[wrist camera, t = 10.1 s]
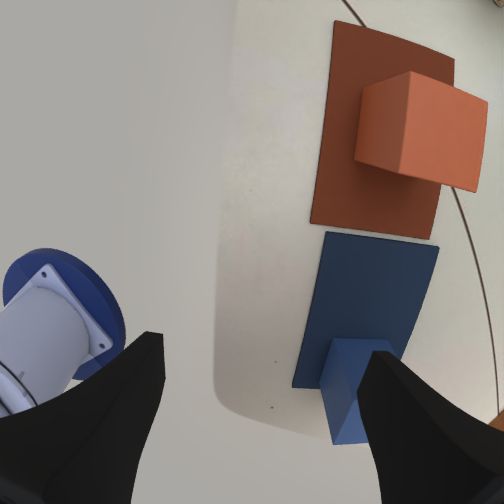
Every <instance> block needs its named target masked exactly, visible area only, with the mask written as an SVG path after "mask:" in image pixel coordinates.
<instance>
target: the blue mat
mask: <svg viewBox="0 0 504 504" xmlns="http://www.w3.org/2000/svg"><path fill="white" fill-rule="evenodd" d="M439 249H440V248H439V247H438V246H431V245H425V244H418V243H411V242H404V241H397V240H389V239H382V238H375V237H367V236H360V235H352V234H344V233H336V232H328V231H326V234H325V239H324V244H323V250H322V255H321V260H320V265H319V270H318V275H317V280H316V285H315V289H314V294H313V299H312V303H311V308H310V312H309V317H308V321H307V326H306V330H305V334H304V339H303V343H302V347H301V351H300V355H299V359H298V363H297V367H296V371H295V375H294V379H293V383H292V388H307V389H321V388H320V384H319V381H320V378H321V375H322V372H323V369H324V365H325V362H326V359H327V356H328V352H329V349H330V346H331V342H332V339H333V338H351V339H387V340H388V342H389V343H390V345H391V347H392V349H393V350H394V352H395V354H396V356H397V358H398V359H399V360H401V358H402V355H403V353H404V351H405V348H406V346H407V343H408V341H409V338H410V336H411V333H412V331H413V328H414V326H415V323H416V320H417V318H418V315H419V312H420V309H421V307H422V304H423V301H424V298H425V295H426V292H427V289H428V286H429V283H430V280H431V277H432V273H433V270H434V267H435V263H436V260H437V256H438V253H439Z"/></svg>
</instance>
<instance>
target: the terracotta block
mask: <svg viewBox="0 0 504 504" xmlns="http://www.w3.org/2000/svg"><path fill="white" fill-rule="evenodd" d="M487 111H488V102H486V101H484V100H482V99H480V98H478V97H476V96H473V95H471V94H469V93H467V92H464V91H462V90H460V89H457V88H455V87H452V86H450V85H448V84H445V83H442V82H440V81H437V80H435V79H432V78H429V77H427V76H424V75H421V74H418V73H415V72H412V71H409V72H407V73H404V74H401V75H398V76H395V77H392V78H389V79H387V80H384V81H381V82H379V83H376V84H373V85H371V86H368V87H365V88H363V91H362V100H361V109H360V118H359V126H358V134H357V141H356V148H355V155H354V160H355V161H358V162H362V163H365V164H369V165H372V166H375V167H379V168H382V169H385V170H388V171H392V172H395V173H398V174H402V175H406V176H411V177H415V178H419V179H423V180H428V181H432V182H436V183H440V184H444V185H447V186H451V187H455V188H459V189H462V190H466V191H470V192H473V193H476V192H477V187H478V181H479V176H480V170H481V164H482V157H483V150H484V142H485V133H486V123H487Z"/></svg>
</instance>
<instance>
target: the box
mask: <svg viewBox="0 0 504 504" xmlns="http://www.w3.org/2000/svg"><path fill="white" fill-rule="evenodd" d="M494 1H495V2H496V4H497V5H498V6H499V7H502V6H504V0H494Z"/></svg>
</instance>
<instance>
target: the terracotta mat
mask: <svg viewBox="0 0 504 504" xmlns="http://www.w3.org/2000/svg"><path fill="white" fill-rule="evenodd" d="M454 61H455V59H453V58H451V57H449V56H446V55H444V54H442V53H439V52H437V51H434V50H432V49H429V48H427V47H424V46H421V45H419V44H416V43H413V42H410V41H408V40H405V39H402V38H399V37H396V36H393V35H389V34H386V33H383V32H380V31H376V30H373V29H369V28H365V27H362V26H358V25H354V24H350V23H346V22H341V21H337V20H335V21H334V30H333V42H332V53H331V64H330V74H329V83H328V93H327V101H326V110H325V118H324V126H323V134H322V142H321V149H320V157H319V164H318V171H317V178H316V185H315V191H314V198H313V204H312V211H311V217H310V223H312V224H320V225H328V226H336V227H343V228H351V229H358V230H366V231H373V232H380V233H387V234H394V235H401V236H407V237H414V238H421V239H427V240H429V239H430V235H431V231H432V226H433V222H434V218H435V214H436V209H437V204H438V200H439V195H440V189H441V184H440V183H436V182H432V181H428V180H423V179H419V178H415V177H411V176H406V175H402V174H398V173H395V172H392V171H388V170H385V169H382V168H379V167H375V166H372V165H369V164H365V163H362V162H358V161H355V160H354V155H355V148H356V141H357V134H358V126H359V118H360V109H361V100H362V91H363V88H365V87H368V86H371V85H373V84H376V83H379V82H381V81H384V80H387V79H389V78H392V77H395V76H398V75H401V74H404V73H407V72H409V71H412V72H415V73H418V74H421V75H424V76H427V77H429V78H432V79H435V80H437V81H440V82H442V83H445V84H448V85H450V86H452V87H454Z"/></svg>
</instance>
